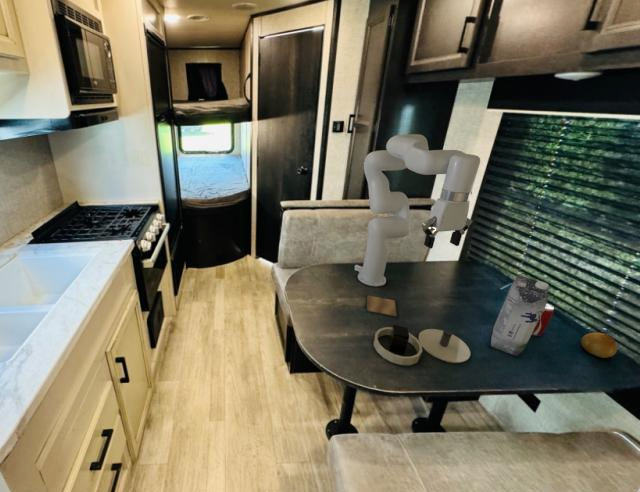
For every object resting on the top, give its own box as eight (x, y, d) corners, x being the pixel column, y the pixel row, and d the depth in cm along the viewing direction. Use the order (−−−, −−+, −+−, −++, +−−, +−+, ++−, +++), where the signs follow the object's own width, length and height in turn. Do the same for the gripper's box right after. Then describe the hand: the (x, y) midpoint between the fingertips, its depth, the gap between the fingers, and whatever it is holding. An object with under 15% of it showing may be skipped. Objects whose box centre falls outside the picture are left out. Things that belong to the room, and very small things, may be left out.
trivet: (366, 311, 127) (367, 310, 127) (367, 296, 137) (367, 295, 136) (396, 317, 124) (396, 316, 124) (394, 301, 133) (394, 300, 133)
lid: (411, 346, 110) (415, 332, 107) (426, 325, 120) (430, 311, 117) (462, 372, 100) (468, 357, 97) (474, 346, 109) (480, 332, 107)
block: (389, 351, 107) (394, 333, 104) (388, 342, 111) (393, 324, 108) (404, 354, 106) (409, 336, 102) (402, 345, 110) (407, 327, 106)
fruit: (623, 362, 100) (625, 337, 100) (588, 355, 103) (589, 331, 104) (607, 357, 107) (609, 334, 108) (575, 351, 110) (576, 328, 111)
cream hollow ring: (366, 349, 109) (367, 341, 107) (383, 328, 118) (385, 321, 116) (410, 373, 99) (412, 365, 98) (425, 349, 108) (428, 342, 107)
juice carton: (487, 347, 109) (515, 282, 98) (490, 331, 116) (517, 269, 105) (520, 360, 104) (553, 293, 92) (521, 343, 111) (553, 279, 99)
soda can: (542, 338, 113) (556, 312, 108) (523, 332, 116) (536, 306, 110) (541, 330, 116) (554, 304, 111) (523, 325, 119) (535, 299, 114)
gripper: (469, 190, 101) (455, 238, 108) (421, 193, 98) (410, 243, 105) (490, 197, 94) (473, 248, 101) (439, 200, 91) (425, 252, 98)
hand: (441, 245), depth 103 cm, fingers open, 9 cm apart
